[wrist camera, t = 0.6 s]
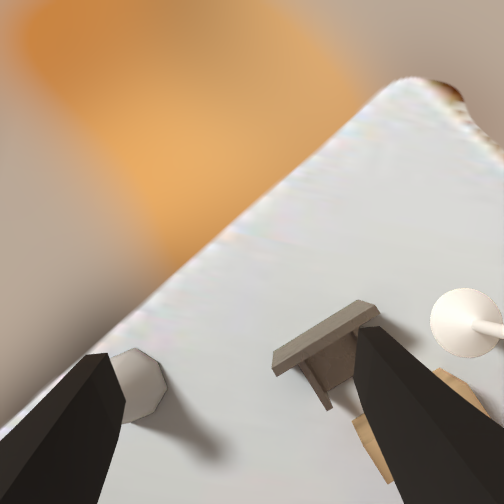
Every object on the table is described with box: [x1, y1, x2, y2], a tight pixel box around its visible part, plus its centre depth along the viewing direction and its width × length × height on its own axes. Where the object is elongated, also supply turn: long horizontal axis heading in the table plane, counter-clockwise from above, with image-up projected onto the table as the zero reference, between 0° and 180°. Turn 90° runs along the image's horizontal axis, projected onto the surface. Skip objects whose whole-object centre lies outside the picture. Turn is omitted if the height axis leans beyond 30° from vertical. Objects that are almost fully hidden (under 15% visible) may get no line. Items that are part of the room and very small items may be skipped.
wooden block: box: [352, 368, 490, 484], centre depth 29 cm, size 10×4×5 cm, turn 122°
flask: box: [110, 348, 167, 424], centre depth 29 cm, size 7×7×10 cm
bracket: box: [272, 300, 380, 411], centre depth 29 cm, size 6×10×6 cm, turn 122°
